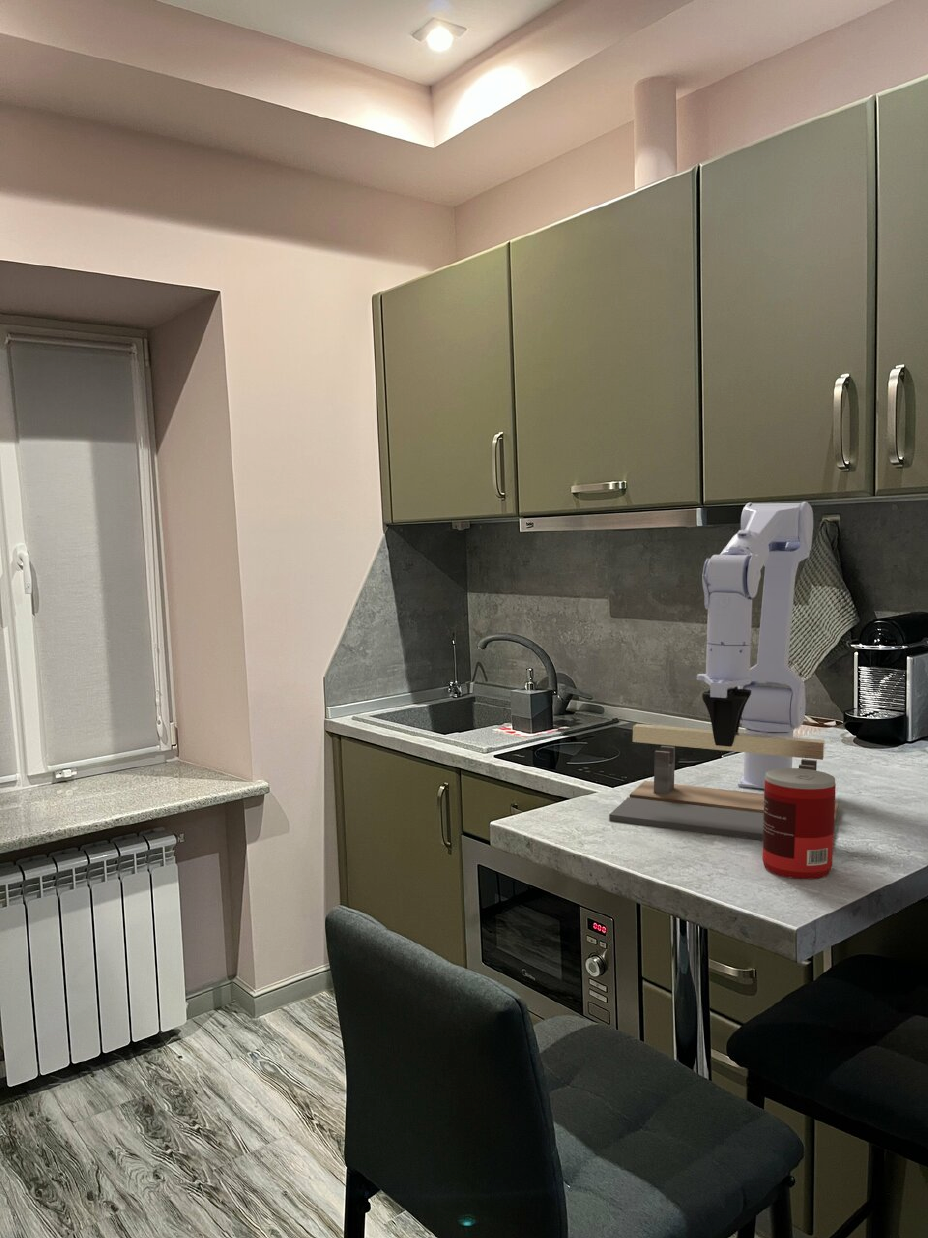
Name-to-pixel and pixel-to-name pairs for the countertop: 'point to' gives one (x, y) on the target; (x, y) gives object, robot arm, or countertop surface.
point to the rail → (740, 743)
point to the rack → (700, 788)
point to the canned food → (798, 822)
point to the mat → (690, 818)
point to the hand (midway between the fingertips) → (725, 743)
